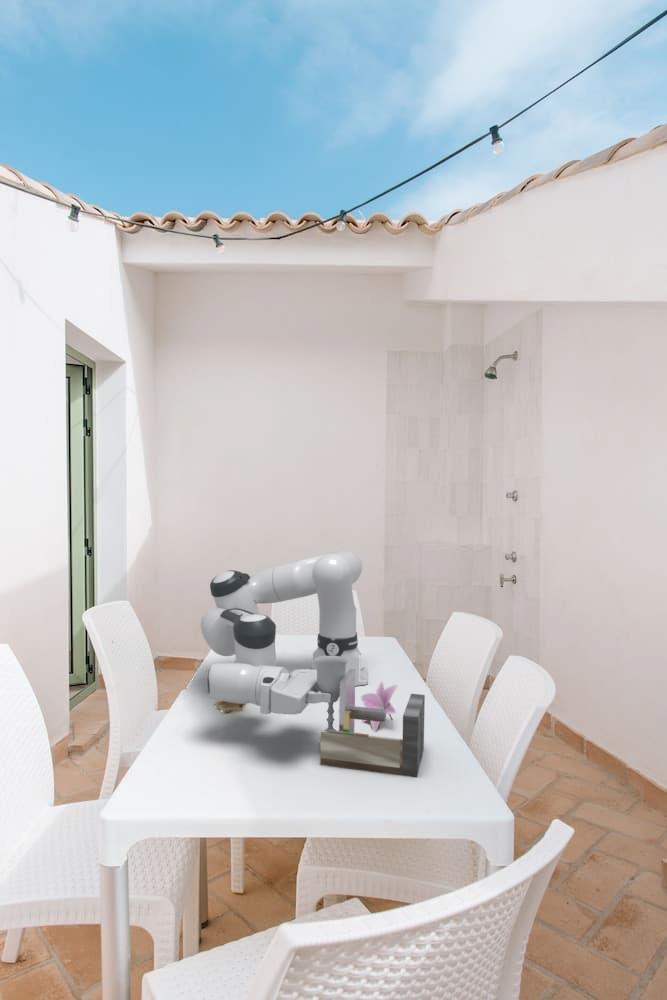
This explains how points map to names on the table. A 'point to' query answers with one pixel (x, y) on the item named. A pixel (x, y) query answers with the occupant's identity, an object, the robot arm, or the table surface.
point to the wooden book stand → (379, 746)
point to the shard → (229, 706)
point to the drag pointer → (347, 721)
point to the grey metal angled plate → (349, 704)
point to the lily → (379, 701)
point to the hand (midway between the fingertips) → (334, 693)
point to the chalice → (330, 680)
